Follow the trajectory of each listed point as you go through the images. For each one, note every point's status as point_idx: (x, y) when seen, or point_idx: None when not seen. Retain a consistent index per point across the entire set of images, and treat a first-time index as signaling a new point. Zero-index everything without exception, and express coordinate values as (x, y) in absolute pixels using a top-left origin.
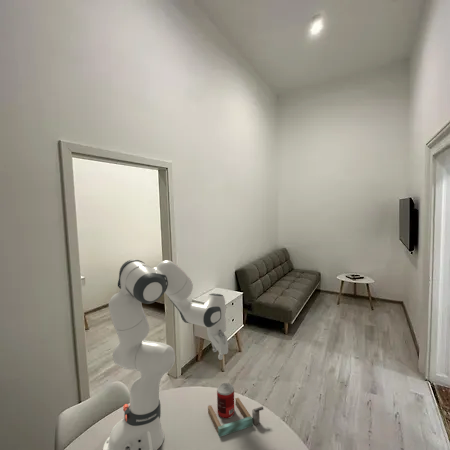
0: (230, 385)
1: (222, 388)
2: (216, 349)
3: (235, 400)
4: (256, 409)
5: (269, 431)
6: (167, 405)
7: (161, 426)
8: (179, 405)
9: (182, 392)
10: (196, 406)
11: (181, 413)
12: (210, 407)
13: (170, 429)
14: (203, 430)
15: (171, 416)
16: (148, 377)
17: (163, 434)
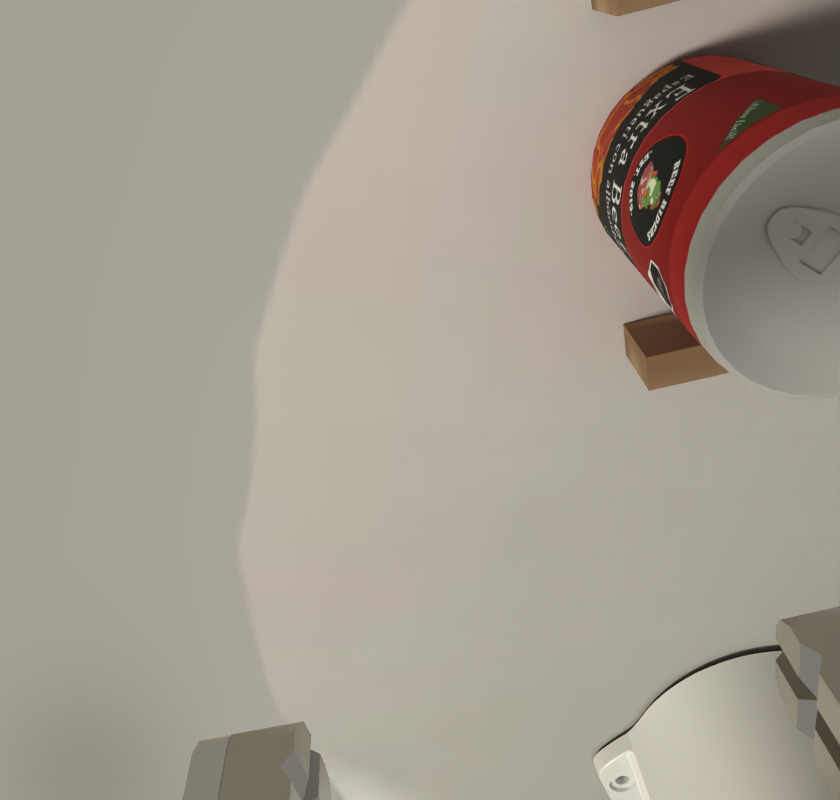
0: (798, 164)
1: (803, 313)
2: (294, 795)
3: (611, 13)
4: None
5: None
6: (427, 663)
7: (781, 721)
8: (448, 586)
9: (256, 576)
10: (498, 456)
11: (557, 566)
12: (678, 366)
13: (707, 620)
14: (828, 403)
15: (570, 627)
16: None
17: (768, 665)
